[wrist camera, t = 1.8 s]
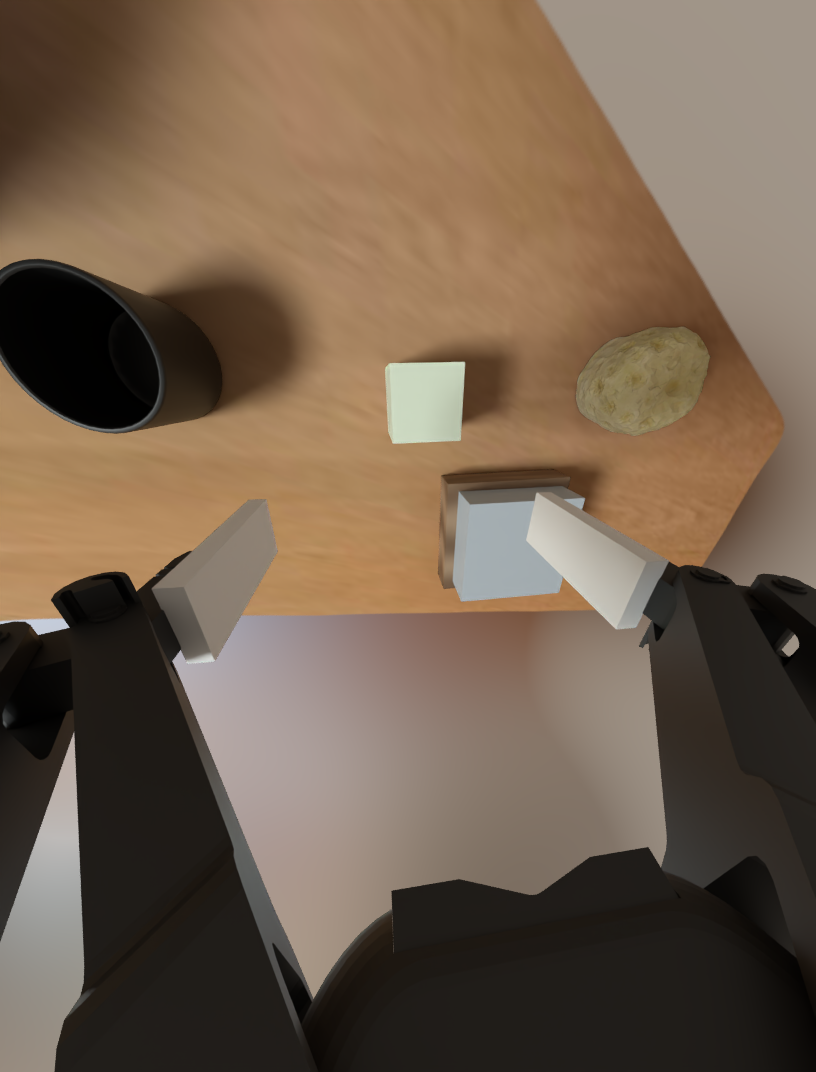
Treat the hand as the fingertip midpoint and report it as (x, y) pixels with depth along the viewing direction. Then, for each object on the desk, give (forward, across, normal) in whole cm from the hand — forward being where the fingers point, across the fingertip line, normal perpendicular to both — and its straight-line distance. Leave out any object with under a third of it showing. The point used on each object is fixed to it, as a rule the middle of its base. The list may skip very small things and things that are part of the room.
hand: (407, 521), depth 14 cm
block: (+20, +3, +5) cm, 21 cm away
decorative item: (+20, +25, +6) cm, 33 cm away
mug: (+20, -21, +8) cm, 30 cm away
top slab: (+17, +14, -10) cm, 24 cm away
